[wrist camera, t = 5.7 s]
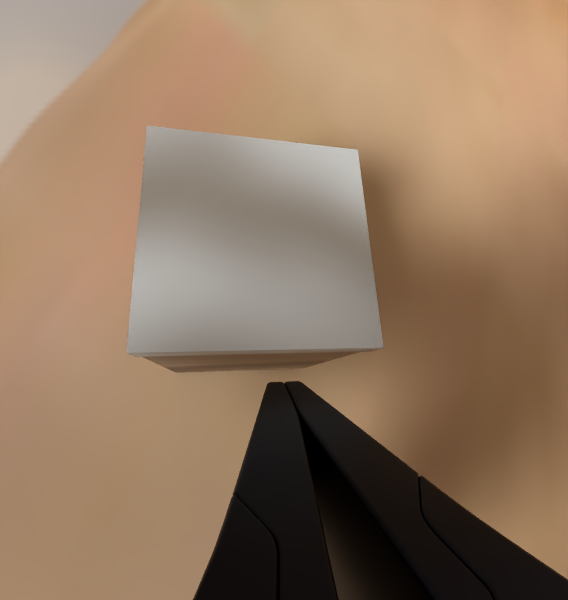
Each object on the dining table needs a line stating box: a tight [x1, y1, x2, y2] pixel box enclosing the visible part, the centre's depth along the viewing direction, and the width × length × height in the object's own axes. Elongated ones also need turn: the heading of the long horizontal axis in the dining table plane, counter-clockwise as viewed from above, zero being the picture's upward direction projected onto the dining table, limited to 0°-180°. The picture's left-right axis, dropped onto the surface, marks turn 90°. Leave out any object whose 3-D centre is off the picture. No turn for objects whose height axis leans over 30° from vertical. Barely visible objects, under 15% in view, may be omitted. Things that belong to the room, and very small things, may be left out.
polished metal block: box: [127, 126, 384, 372], centre depth 12 cm, size 6×6×8 cm
